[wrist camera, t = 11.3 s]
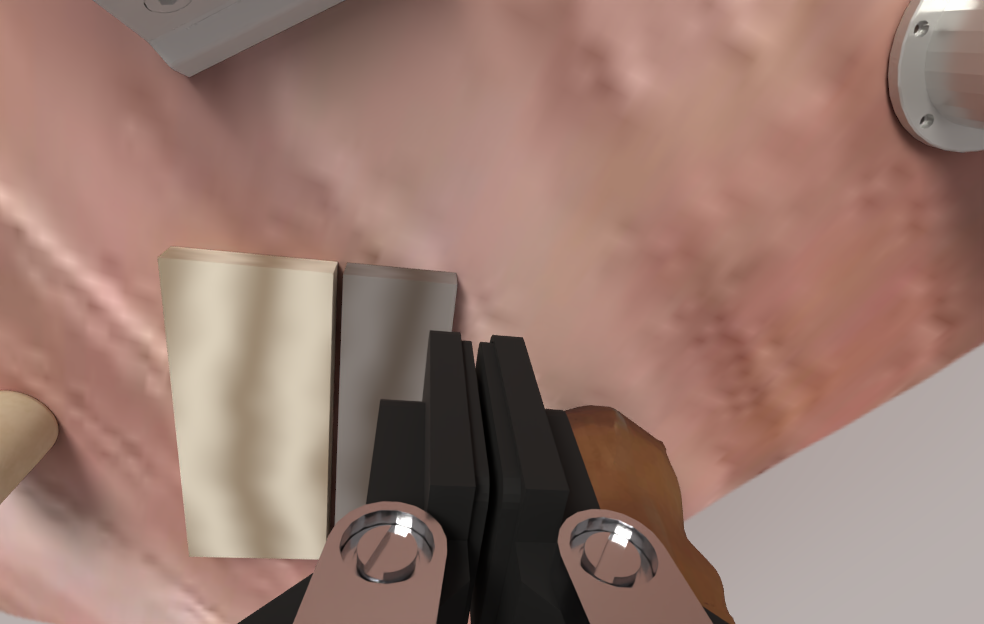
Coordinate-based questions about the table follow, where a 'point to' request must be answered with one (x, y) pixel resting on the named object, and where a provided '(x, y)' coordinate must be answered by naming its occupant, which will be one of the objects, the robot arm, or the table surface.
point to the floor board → (382, 358)
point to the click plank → (252, 399)
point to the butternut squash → (643, 491)
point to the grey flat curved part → (209, 26)
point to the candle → (22, 437)
